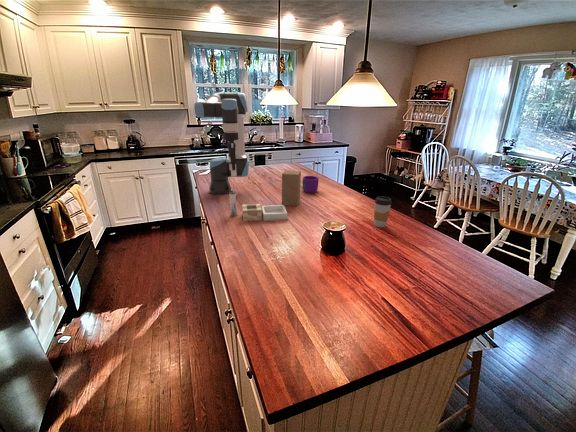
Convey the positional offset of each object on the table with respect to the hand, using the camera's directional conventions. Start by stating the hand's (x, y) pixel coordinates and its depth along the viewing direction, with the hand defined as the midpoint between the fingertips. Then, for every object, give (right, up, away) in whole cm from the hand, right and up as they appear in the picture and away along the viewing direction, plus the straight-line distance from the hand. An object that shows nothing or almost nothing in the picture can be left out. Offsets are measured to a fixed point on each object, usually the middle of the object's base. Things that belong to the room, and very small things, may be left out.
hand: (233, 172), depth 155 cm
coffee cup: (+78, -28, +1) cm, 83 cm away
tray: (+21, -23, +10) cm, 33 cm away
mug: (+44, -4, +57) cm, 72 cm away
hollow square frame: (+9, -24, +8) cm, 26 cm away
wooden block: (+31, -15, +30) cm, 46 cm away
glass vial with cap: (-1, -23, +10) cm, 25 cm away
